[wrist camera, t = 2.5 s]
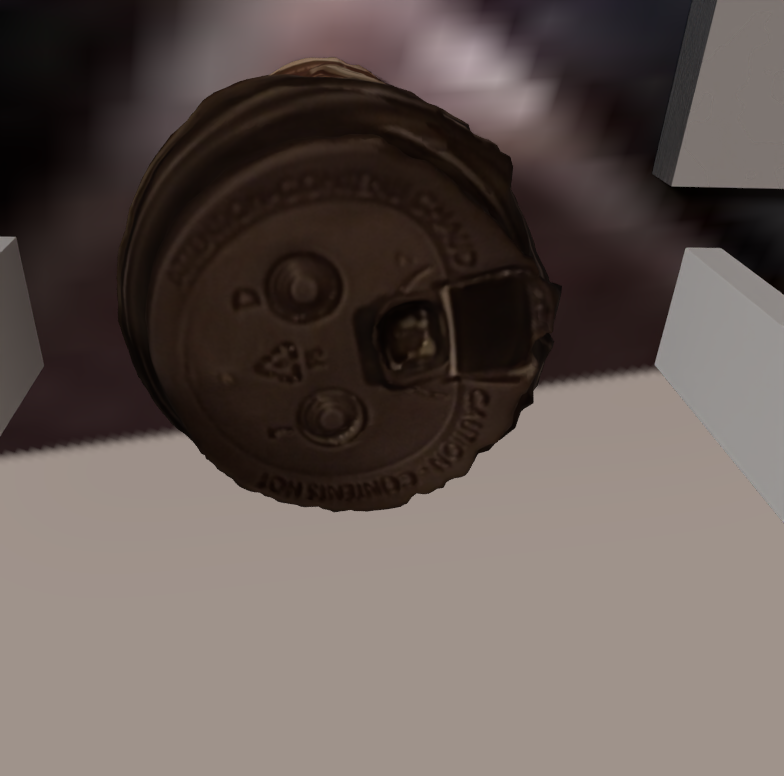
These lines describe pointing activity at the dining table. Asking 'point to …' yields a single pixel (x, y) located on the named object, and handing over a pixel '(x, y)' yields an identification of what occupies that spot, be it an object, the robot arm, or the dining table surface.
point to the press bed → (727, 99)
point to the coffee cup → (333, 289)
